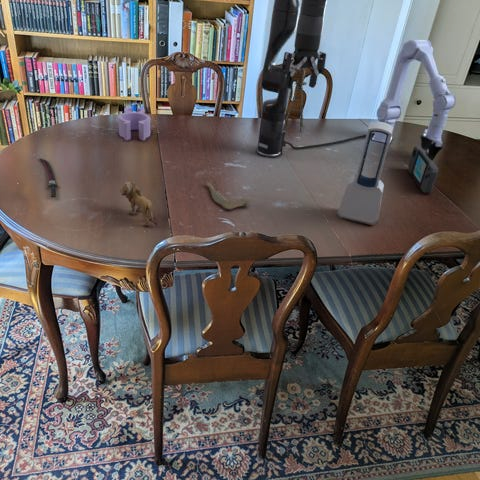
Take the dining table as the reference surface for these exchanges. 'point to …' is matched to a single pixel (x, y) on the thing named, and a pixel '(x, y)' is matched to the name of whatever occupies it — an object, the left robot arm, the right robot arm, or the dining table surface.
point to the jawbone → (223, 201)
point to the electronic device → (366, 184)
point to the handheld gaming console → (423, 169)
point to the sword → (52, 181)
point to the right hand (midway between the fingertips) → (426, 156)
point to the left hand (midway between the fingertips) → (300, 87)
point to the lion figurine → (137, 201)
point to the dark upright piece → (298, 100)
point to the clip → (134, 123)
